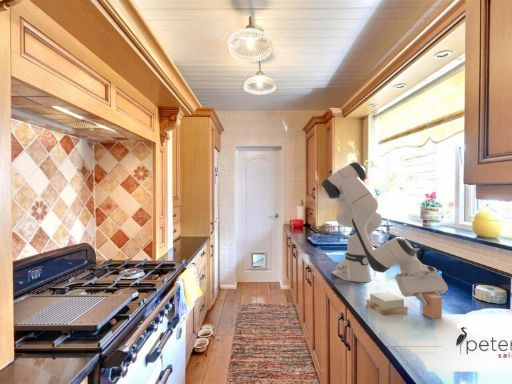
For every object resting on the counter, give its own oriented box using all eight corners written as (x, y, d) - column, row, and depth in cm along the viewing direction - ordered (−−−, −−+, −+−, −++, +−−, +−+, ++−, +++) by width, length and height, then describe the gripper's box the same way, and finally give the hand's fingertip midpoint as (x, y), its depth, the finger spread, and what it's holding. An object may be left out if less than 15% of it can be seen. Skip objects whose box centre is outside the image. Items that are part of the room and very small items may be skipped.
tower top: (370, 300, 125) (370, 293, 125) (387, 298, 128) (387, 291, 128) (385, 308, 117) (385, 301, 117) (403, 306, 119) (403, 299, 119)
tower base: (366, 306, 127) (366, 299, 127) (388, 304, 129) (388, 297, 129) (383, 317, 116) (383, 309, 116) (407, 314, 119) (407, 307, 119)
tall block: (422, 314, 118) (422, 293, 118) (432, 313, 119) (432, 293, 119) (431, 318, 113) (432, 297, 113) (441, 317, 114) (441, 297, 114)
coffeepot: (402, 276, 170) (402, 245, 170) (394, 272, 179) (394, 242, 179) (429, 276, 170) (429, 245, 170) (420, 272, 179) (420, 242, 179)
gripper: (397, 270, 120) (415, 303, 111) (438, 267, 125) (459, 298, 116) (389, 278, 124) (406, 310, 115) (429, 275, 129) (449, 306, 120)
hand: (433, 304), depth 115 cm, fingers closed on tall block, 4 cm apart
